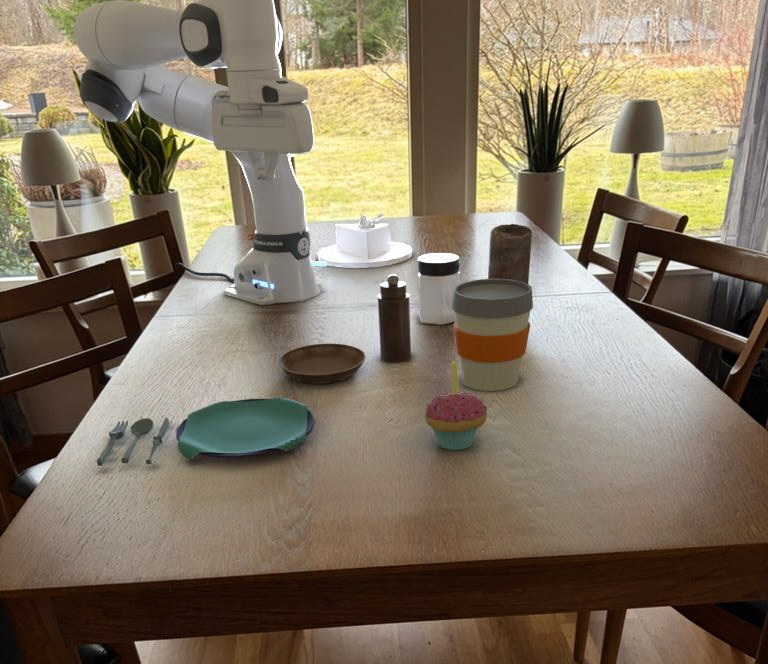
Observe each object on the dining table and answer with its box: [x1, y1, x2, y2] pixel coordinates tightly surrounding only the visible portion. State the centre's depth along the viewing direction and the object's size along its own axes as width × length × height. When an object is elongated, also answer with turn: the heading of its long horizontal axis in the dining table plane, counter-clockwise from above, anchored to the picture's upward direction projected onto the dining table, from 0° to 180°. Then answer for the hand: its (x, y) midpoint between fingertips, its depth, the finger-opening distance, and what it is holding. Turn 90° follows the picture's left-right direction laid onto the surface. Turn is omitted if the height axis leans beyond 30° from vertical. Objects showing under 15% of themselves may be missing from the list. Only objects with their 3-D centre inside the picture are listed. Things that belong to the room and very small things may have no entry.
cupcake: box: [424, 355, 488, 451], centre depth 106 cm, size 9×8×12 cm
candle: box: [487, 223, 533, 285], centre depth 141 cm, size 8×7×20 cm
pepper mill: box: [377, 273, 412, 364], centre depth 137 cm, size 5×5×15 cm
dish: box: [317, 212, 413, 269], centre depth 206 cm, size 25×25×11 cm
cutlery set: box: [96, 396, 316, 467], centre depth 114 cm, size 20×30×2 cm, turn 94°
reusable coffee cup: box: [452, 278, 534, 392], centre depth 125 cm, size 13×13×15 cm
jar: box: [417, 252, 461, 326], centre depth 156 cm, size 9×8×12 cm
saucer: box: [278, 343, 367, 385], centre depth 135 cm, size 15×15×3 cm
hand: (265, 180), depth 137 cm, fingers closed
